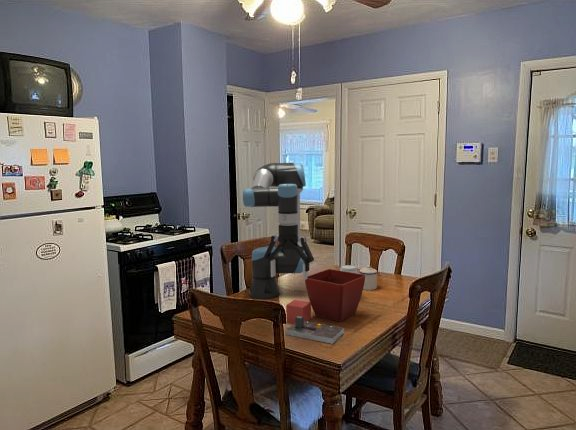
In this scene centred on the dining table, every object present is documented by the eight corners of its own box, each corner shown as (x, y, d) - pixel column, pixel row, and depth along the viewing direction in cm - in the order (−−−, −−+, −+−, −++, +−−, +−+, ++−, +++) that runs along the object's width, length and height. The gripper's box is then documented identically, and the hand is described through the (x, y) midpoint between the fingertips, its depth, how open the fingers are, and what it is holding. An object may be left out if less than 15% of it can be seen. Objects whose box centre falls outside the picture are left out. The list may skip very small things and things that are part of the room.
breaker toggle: (295, 326, 164) (295, 317, 164) (298, 324, 166) (298, 315, 166) (301, 327, 163) (300, 318, 162) (303, 325, 165) (303, 316, 165)
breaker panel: (286, 334, 163) (285, 327, 162) (299, 324, 172) (299, 318, 172) (332, 344, 154) (332, 337, 153) (343, 333, 163) (343, 326, 163)
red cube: (286, 321, 176) (286, 305, 175) (294, 315, 182) (294, 299, 181) (302, 324, 172) (302, 307, 171) (310, 318, 179) (310, 302, 178)
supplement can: (356, 300, 201) (357, 269, 199) (339, 299, 202) (339, 268, 200) (357, 295, 208) (357, 265, 207) (340, 294, 210) (340, 264, 208)
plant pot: (329, 304, 196) (329, 268, 194) (366, 313, 184) (366, 274, 182) (303, 316, 182) (303, 277, 180) (342, 326, 170) (342, 285, 168)
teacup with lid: (378, 286, 223) (378, 264, 222) (376, 291, 215) (376, 268, 213) (355, 284, 227) (355, 262, 226) (352, 289, 219) (352, 266, 217)
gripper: (254, 224, 168) (256, 277, 170) (315, 226, 158) (315, 283, 160) (263, 221, 174) (264, 272, 177) (322, 224, 164) (322, 278, 167)
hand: (288, 278), depth 168 cm, fingers open, 13 cm apart
